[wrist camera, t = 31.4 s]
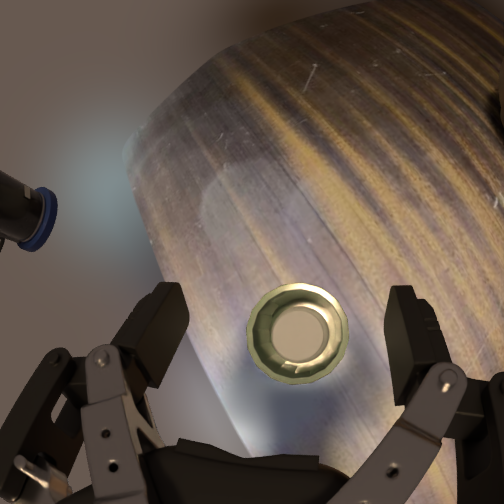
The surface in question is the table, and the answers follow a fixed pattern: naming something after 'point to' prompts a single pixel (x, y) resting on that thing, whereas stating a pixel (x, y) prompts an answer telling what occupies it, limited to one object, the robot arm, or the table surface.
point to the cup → (266, 316)
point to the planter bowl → (501, 91)
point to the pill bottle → (300, 334)
